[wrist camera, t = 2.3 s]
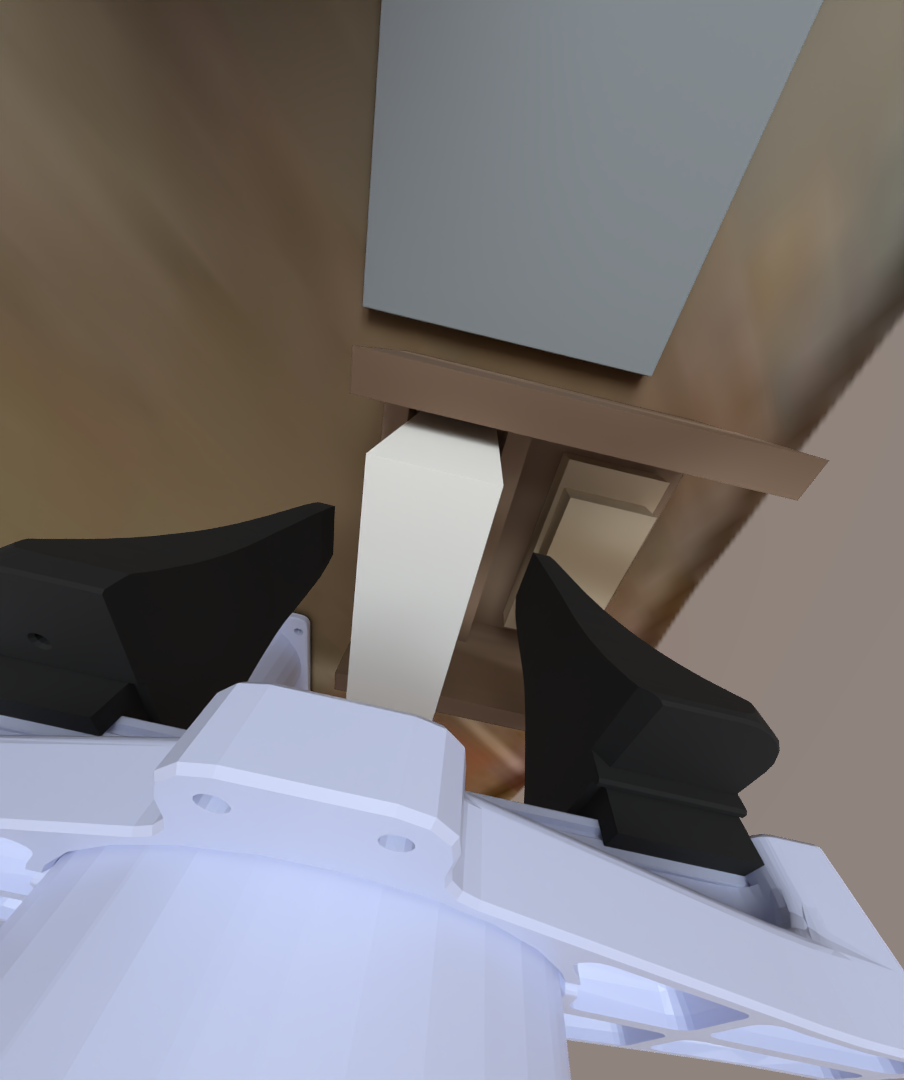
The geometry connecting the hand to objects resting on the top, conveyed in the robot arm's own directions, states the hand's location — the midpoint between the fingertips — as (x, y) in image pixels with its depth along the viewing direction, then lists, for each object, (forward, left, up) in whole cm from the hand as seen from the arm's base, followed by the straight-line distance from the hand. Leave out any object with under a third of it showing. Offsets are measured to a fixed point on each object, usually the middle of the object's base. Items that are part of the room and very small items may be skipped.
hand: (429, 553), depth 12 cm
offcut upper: (0, -6, -2) cm, 6 cm away
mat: (+12, -1, -4) cm, 13 cm away
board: (0, 0, -3) cm, 3 cm away
